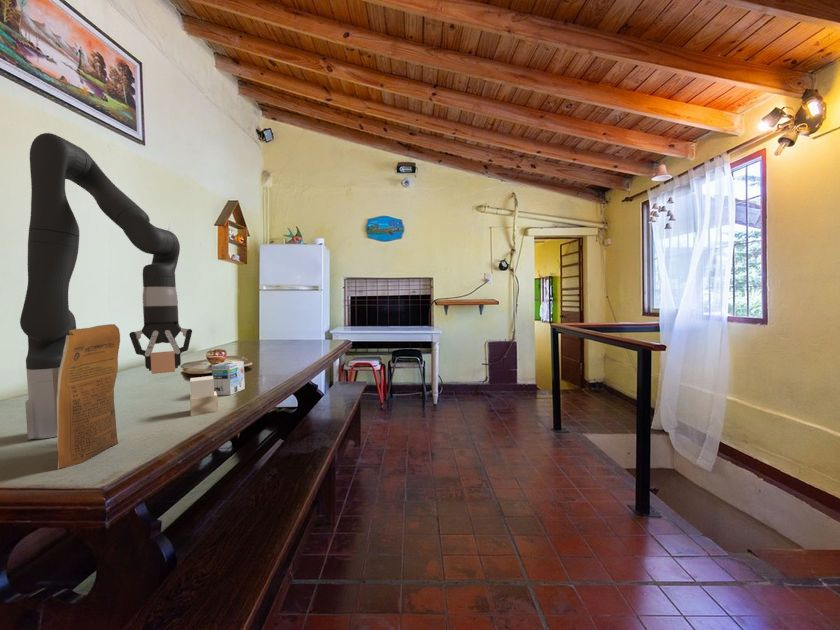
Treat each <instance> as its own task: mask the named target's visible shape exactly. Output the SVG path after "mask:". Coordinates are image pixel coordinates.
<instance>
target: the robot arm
mask: <svg viewBox="0 0 840 630" xmlns="http://www.w3.org/2000/svg"><path fill="white" fill-rule="evenodd" d="M29 168H30V169H29V170H30V183H31V184H30V186H31V194H30V195H31V196H30V197H31V198H30V219H29V225H28V227H29V228H28V237H27V289H26V293H25V297H24V303H23V306H22V310H21V313H20V318H19V325H20V328H21V330H22V331H23V333H24V334H25V335H26V336H27V345H28V347H27V348H28V349H27V356H26V358H25V369H26V370H25V371H26V382H27V383H26V384H27V396H28V398H27V399H26V401H25V414H26V415H25V417H26V432H27V440H34V439H35V440H36V439H38V440H39V439H50V438H55V437H56V438H57V429H58V426H57V393H58V377H59V370H60V364H61V361H62V357H63V350H64V346H65V341H66V335H70V334H69V330H73V329H77V322H76V317H75V315H74V314H73V312H72V311H71V310H70V309H69V287H70V283H71V282H70V281H71V279H72V276H73V272H74V271H75V270H74V269H75V267H76V264H77V259H78V253H79V248H80V247H79V245H80V227H79V224H78V221H77V219H76V217H75V215H74V212H73V210H72V208H71V206H70V203H69V201H68V198H67V194H66V180H67V181H68V180H69V181H70V182H72V183H74V184H76V185H78V187H81V188H82V189H83V190H85V191H86V192H87V193H88V194H90V195H91V197H92V198H94V200H95V201H96V202H95V203H96V204H97V206H98V207H99V209H100V210H101V212H102V213H104V215H105V216H107V218H109V220H111V221H112V222H113V223H114V224H115V225H117V226H118V227H119V228H120V229H121V230H123V232H124V234H125V236H126V237H127V239H129V241H130V242H131V244H132V245H133V246H134V247H136V249H138V250H139V251H141V252H143V253H145V254H149V255H152V259H151V264H146V265H145V266H143V269H142V287H143V288H142V289H143V290H142V309H143V310H142V312H143V313H142V314H143V327H142V329H140V330H137V331H131V332H129V334H128V335H129V338H130V341H131V343H132V347H133V348H134V352H135V354H136V355H139V356H143V358H144V363H145V368H146V369H147V370H148V371H149V372H151V353H153V350H154V347H155V345H156V344H158V345H159V344H163V343H164V344H170V345H171V347H172V351H174V352H175V354H174V359H175V369H179V367H180V366H181V364H182V360H181V354H182V353H184V352H187V351H189V346H190V342H191V339H192V333H193V330H192V329H191V328H182V327H181V326H180V324H179V322H180V321H179V305H178V304H179V300H178V294H177V293H178V292H177V287H176V285H177V284H176V269H177V265H178V261H179V256H180V250H181V247H180V246H181V245H180V241H179V239H178V237H177V236H176V234H175V233H174V232H173V231H170V230H167V229H165V228H161V227H157V226H155V225H153V224H152V223H151V221H150V217H149V214H148V213H147V212H146V211H145V210H143V208H141V207H140V205H138V204H137V203H135V202H134V201H133V200H132V199H131V198H130V197H129V196H127V195H126V194H125V192H123V191H122V190H121V189H120V188H119V187H117V186H116V185H115V183H113V181H112V180H110V178H109V177H108V176H107V175H106V174H105V172H103V170H102V169H101V167H100V166H99V165H98V164H97V162H96V161H95V160H94V159H93V157H91V155H90V154H89V153H88V152H87V151H85V149H83V148H82V147H80V146H78V145H76V144H74V143H72V142H70V141H69V140H68V139H65V138H63V137H61V136H60V135H57V134H54V133H51V132H43V133H40V134H39V135H37V136H36V137H35V138H34V139H33V141H32V143H31V145H30V149H29ZM180 332H181V334H182V337H185V338H184V342H183V346H181V347H179V345H178V342H177V341H176V338H177V337H178V335H179V334H180ZM142 335H144V337H146V338H147V339H148V341H149V342H148V344H147V346H146V349H145V350H144V349H142V346H141V341H140V339H142Z"/></svg>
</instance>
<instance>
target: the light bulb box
mask: <svg viewBox="0 0 840 630" xmlns="http://www.w3.org/2000/svg"><path fill="white" fill-rule="evenodd" d="M244 363H245V362H244V360H226V361H224V362H219V363H217V364H214V365H211V376H213V379H214V391H216V393H217V396H231V395H234V394H236V393H238V392H240V391H243V390H246V389H245V388H246V387H245V386H246V383H245V364H244Z"/></svg>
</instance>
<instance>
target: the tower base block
mask: <svg viewBox="0 0 840 630" xmlns="http://www.w3.org/2000/svg"><path fill="white" fill-rule="evenodd" d="M189 406H190V417H193V416H200V415H206V414H213V413H218V412H219V399H218V395H217V393H216V391H214V396H207V397H200V398H192V399H191V393H190V394H189Z"/></svg>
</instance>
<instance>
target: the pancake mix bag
mask: <svg viewBox="0 0 840 630" xmlns="http://www.w3.org/2000/svg"><path fill="white" fill-rule="evenodd" d="M69 334H70V335H66V341H65V346H64V350H63V357H62V361H61V364H60V370H59V377H58V393H57V426H58V429H57V436H56V439H57V440H56V441H57V443H56V446H57V448H56V449H57V453H58V454H57V470H58V469H62V468H68V467H72V466H75V465H76V466H77V465H79V464H81V463H84V461H85V462H87V461H88V459H89V460H90V459H92V458H94V457H95V455H96V456H97V455H99V454H101V453H103V452H105V451H106V450H108V449H110V448H111V446H112V447H114V446H115V445H117V444H119V439H118V431H117V418H116V417H117V416H116V409H115V386H116V380H117V376H118V371H119V369H118V368H119V360H118V359H119V350H120V344H121V332H120V328H119V327H118V326H117V325H116V324H115V323H113V324H112V323H111V324H102V325H94V326H91V327H84V328H83V327H82V328H76V329H73V330H69ZM109 447H110V448H109ZM102 451H103V452H102ZM100 452H101V453H100ZM98 453H99V454H98ZM93 456H94V457H93ZM91 457H92V458H91ZM86 460H87V461H86Z"/></svg>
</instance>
